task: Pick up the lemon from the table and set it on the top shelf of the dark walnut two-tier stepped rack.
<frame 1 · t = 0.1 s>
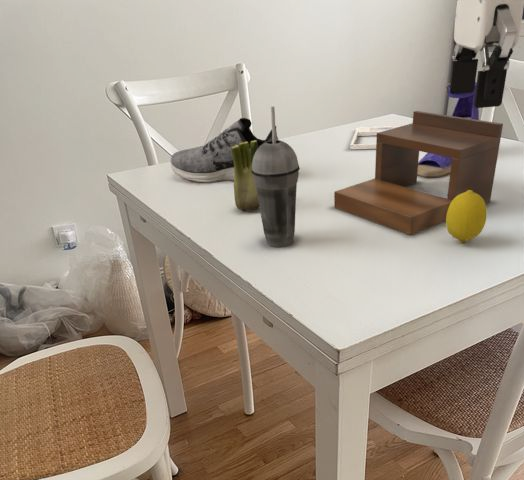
hand: (473, 99, 69), 20 cm above the table, tool pointing down, fingers open, 9 cm apart
beverage cup: (279, 242, 87), on the table
fennel bulb: (250, 210, 100), on the table
sandal: (446, 165, 113), on the table
rack: (410, 205, 95), on the table
lemon: (462, 243, 81), on the table
athletic shoe: (229, 178, 118), on the table
photo frame: (383, 139, 134), on the table
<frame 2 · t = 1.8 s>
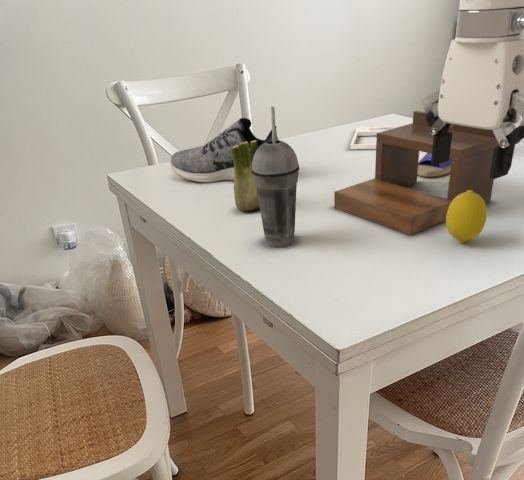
hand: (467, 169, 75), 11 cm above the table, tool pointing down, fingers open, 9 cm apart
nothing on the table moved.
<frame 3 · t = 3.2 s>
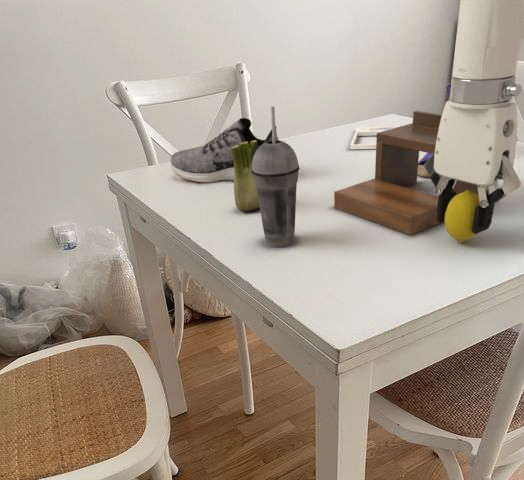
hand: (462, 224, 79), 3 cm above the table, tool pointing down, fingers closed on lemon, 5 cm apart
lemon: (460, 243, 81), on the table, touching gripper
everything else where it was.
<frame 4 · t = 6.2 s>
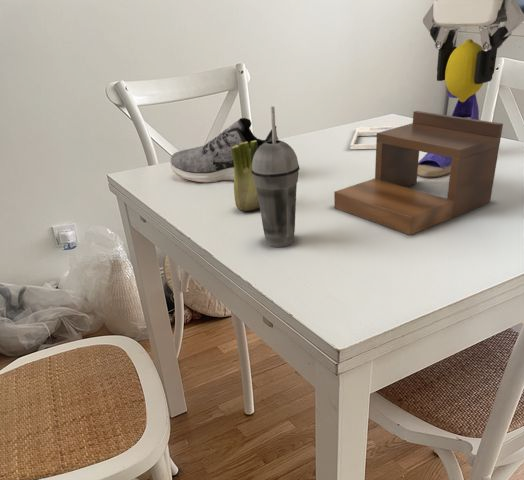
hand: (463, 79, 77), 21 cm above the table, tool pointing down, fingers closed on lemon, 5 cm apart
lemon: (462, 103, 78), point 18 cm above the table, touching gripper
everything else where it was.
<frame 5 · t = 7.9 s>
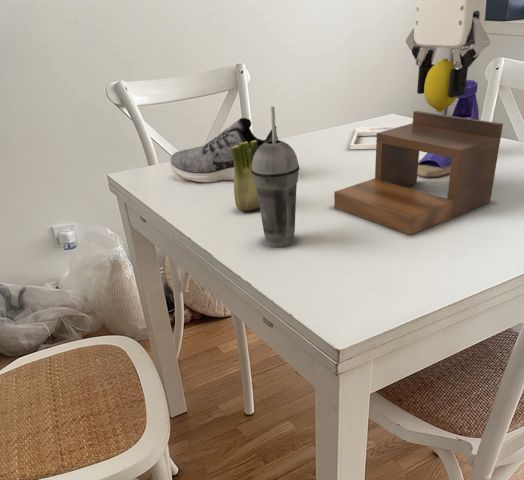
hand: (440, 92, 88), 18 cm above the table, tool pointing down, fingers closed on lemon, 5 cm apart
lemon: (439, 113, 90), point 14 cm above the table, touching gripper
everything else where it was.
when the fingers open (14 cm above the table, at t = 9.2 s): lemon stays where it is, resting on rack.
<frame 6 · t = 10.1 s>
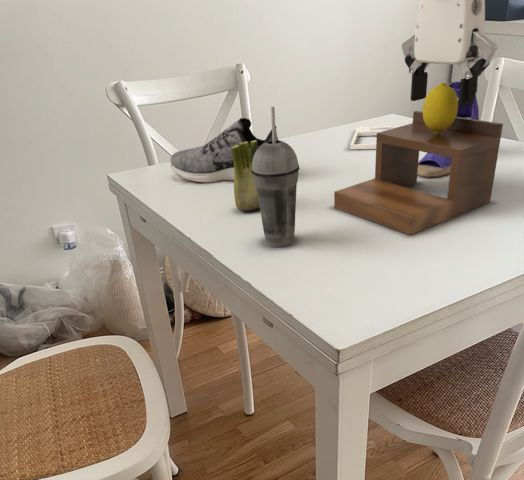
hand: (441, 102, 89), 16 cm above the table, tool pointing down, fingers open, 9 cm apart
lemon: (437, 135, 92), point 11 cm above the table, touching rack
everything else where it was.
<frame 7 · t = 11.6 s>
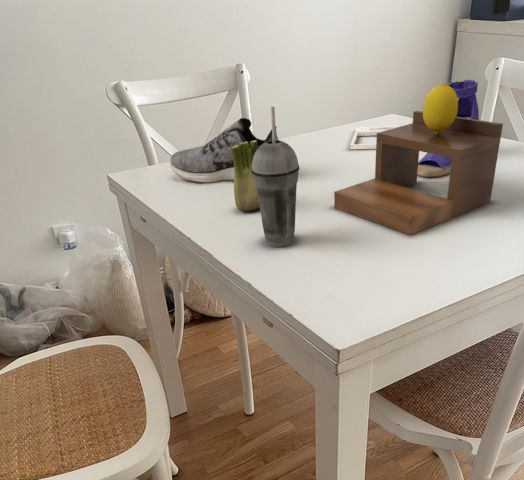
nothing on the table moved.
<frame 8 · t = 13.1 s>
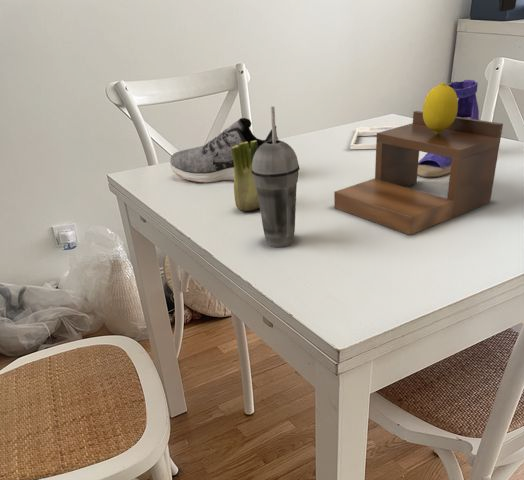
nothing on the table moved.
at the end: lemon inside the target area on the rack (0.4 cm from its centre), point 10.8 cm above the rack's base; the gripper is holding nothing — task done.
